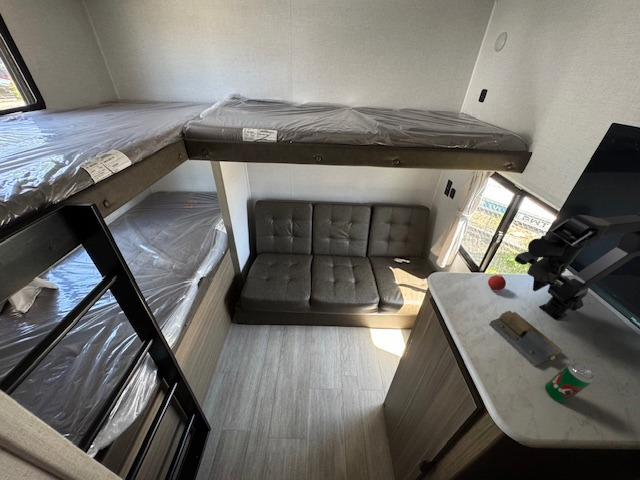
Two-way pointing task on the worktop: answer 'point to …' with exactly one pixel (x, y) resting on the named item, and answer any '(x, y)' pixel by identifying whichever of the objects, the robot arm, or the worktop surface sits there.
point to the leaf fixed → (526, 343)
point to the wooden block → (523, 327)
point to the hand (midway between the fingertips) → (534, 290)
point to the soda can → (569, 382)
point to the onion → (497, 282)
